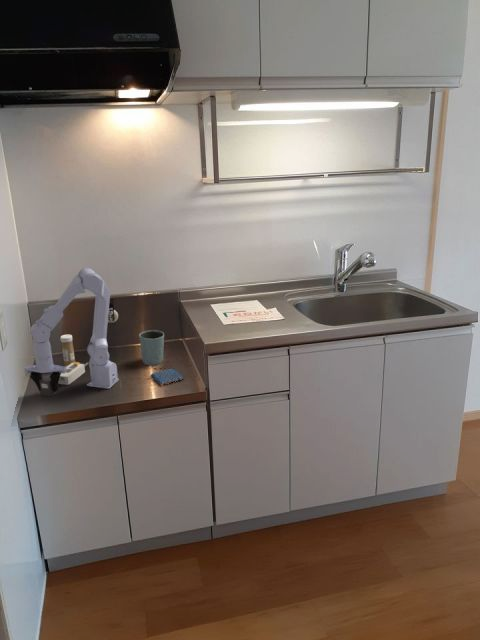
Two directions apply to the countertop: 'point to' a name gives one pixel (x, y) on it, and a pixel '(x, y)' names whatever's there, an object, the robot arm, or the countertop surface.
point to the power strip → (72, 373)
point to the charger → (46, 386)
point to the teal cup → (152, 346)
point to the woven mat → (166, 376)
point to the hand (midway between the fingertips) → (48, 390)
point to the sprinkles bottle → (67, 349)
